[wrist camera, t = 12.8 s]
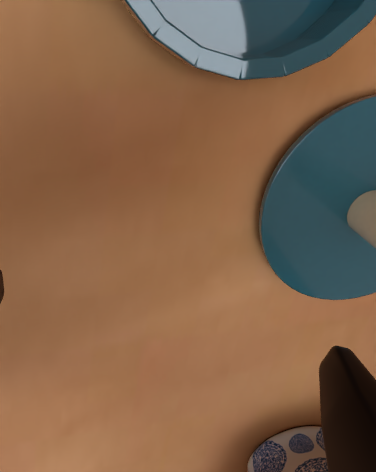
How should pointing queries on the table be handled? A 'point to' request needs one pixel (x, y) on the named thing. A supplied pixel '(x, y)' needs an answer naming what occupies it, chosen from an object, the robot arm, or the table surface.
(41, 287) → the table surface
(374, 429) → the robot arm
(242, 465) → the table surface
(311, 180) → the lid
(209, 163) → the table surface
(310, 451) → the lamp
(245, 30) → the dish
